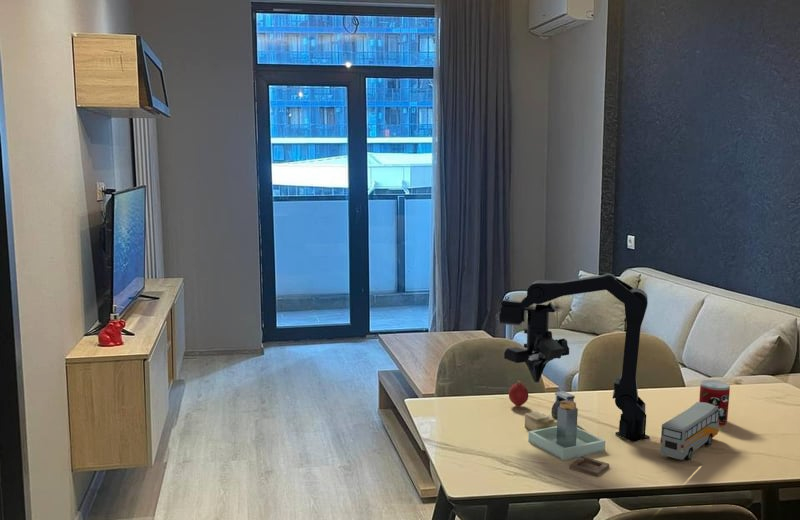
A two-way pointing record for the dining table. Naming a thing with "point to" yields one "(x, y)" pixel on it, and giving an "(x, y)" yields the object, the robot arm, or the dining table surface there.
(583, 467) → the pin socket
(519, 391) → the onion
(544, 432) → the tray
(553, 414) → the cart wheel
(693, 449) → the toy bus
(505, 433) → the dining table surface
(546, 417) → the block
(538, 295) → the robot arm
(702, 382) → the canned food
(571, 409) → the pin
